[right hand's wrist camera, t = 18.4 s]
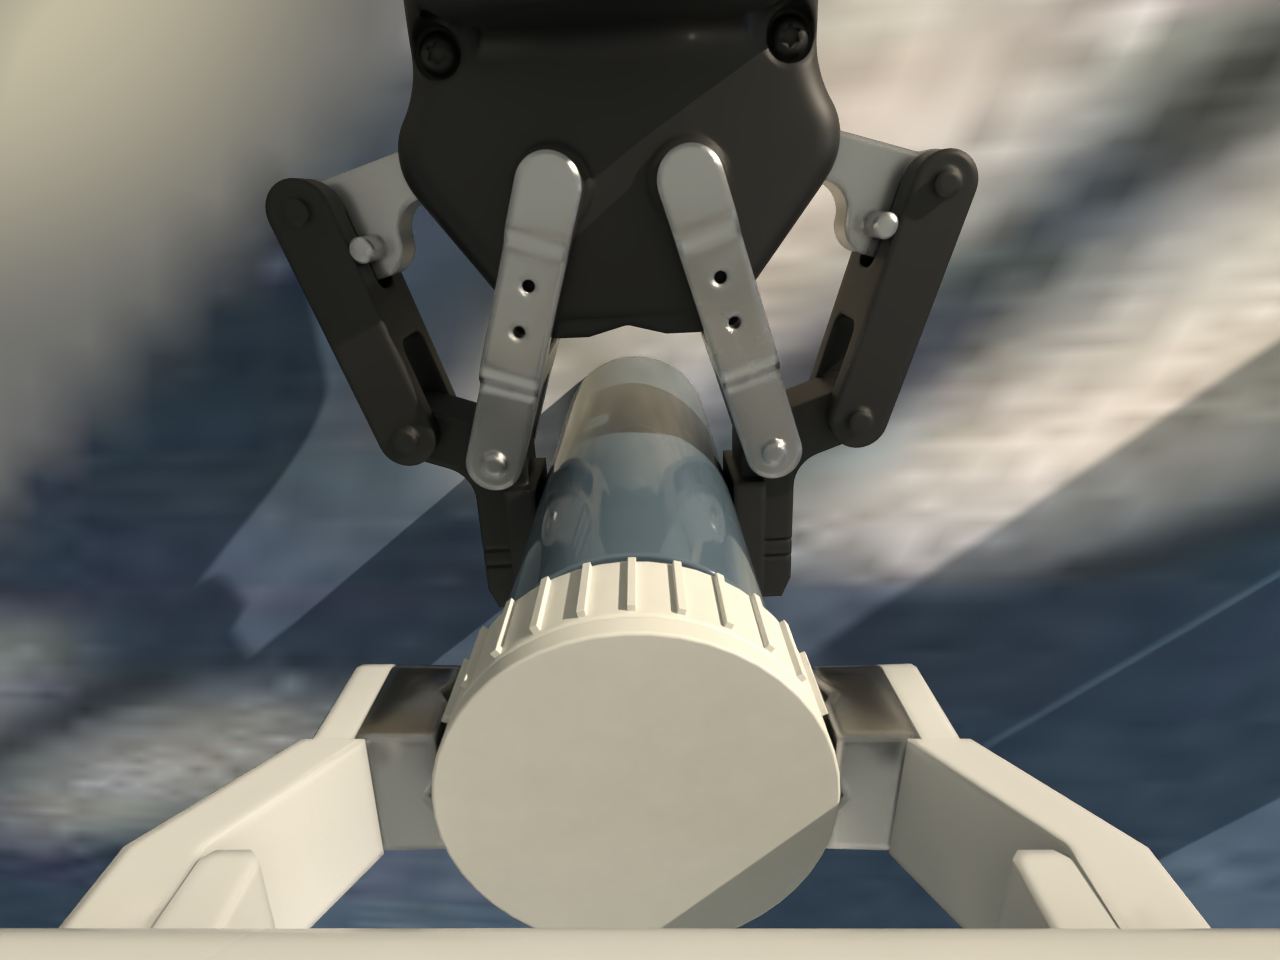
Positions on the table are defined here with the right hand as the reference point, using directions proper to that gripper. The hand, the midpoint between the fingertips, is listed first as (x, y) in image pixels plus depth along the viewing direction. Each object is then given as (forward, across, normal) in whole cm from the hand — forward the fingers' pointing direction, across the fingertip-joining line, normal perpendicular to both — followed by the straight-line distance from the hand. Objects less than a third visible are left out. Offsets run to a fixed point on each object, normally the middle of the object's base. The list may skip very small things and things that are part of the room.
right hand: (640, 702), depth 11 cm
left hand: (+7, 0, -3) cm, 8 cm away
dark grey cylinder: (+14, 0, 0) cm, 14 cm away
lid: (-2, 0, 0) cm, 2 cm away
